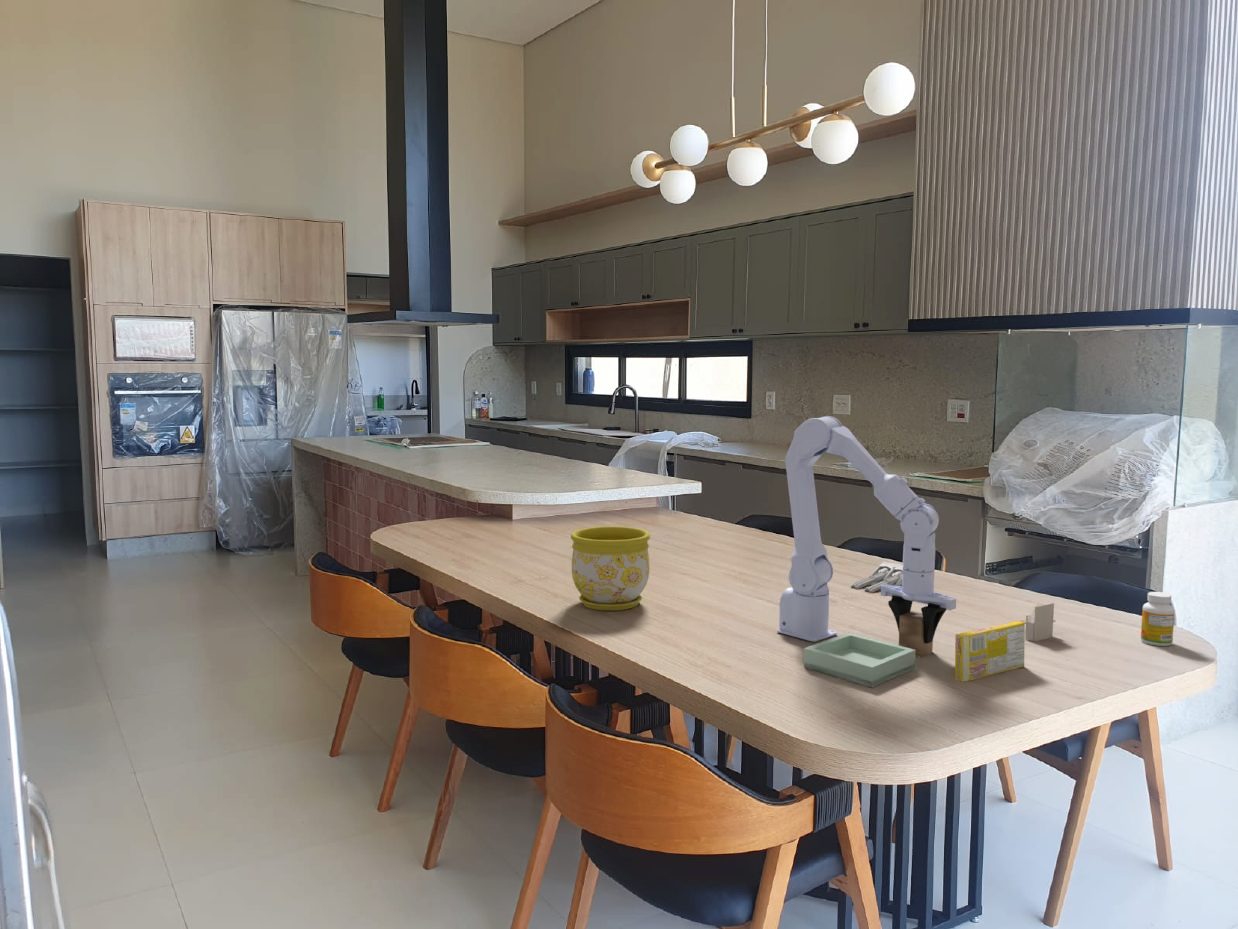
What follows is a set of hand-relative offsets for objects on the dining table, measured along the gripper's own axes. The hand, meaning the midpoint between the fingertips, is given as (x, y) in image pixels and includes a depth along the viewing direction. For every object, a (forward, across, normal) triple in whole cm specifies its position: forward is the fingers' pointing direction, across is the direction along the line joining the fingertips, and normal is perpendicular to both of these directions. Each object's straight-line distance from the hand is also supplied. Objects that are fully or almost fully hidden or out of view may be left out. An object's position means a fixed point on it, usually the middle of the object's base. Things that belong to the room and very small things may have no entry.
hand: (915, 639), depth 171 cm
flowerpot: (+3, -65, -20) cm, 68 cm away
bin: (+2, -2, -16) cm, 16 cm away
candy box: (+3, +15, -1) cm, 15 cm away
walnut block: (+2, 0, 0) cm, 2 cm away
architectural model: (+3, +12, +26) cm, 29 cm away
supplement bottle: (+3, +29, +40) cm, 49 cm away
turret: (+3, -32, +42) cm, 53 cm away
